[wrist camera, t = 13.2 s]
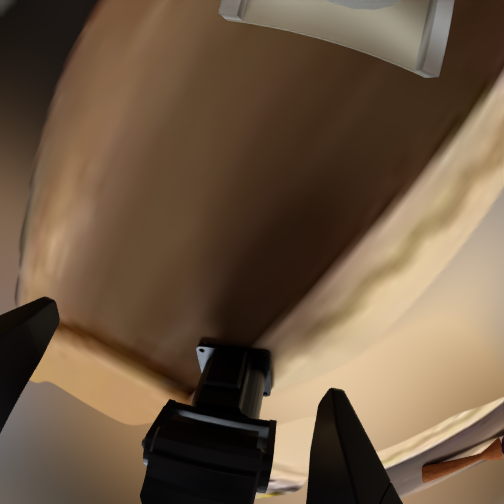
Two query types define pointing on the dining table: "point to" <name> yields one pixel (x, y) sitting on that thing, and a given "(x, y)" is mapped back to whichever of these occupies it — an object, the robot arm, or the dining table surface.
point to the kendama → (462, 462)
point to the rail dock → (360, 27)
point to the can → (365, 3)
